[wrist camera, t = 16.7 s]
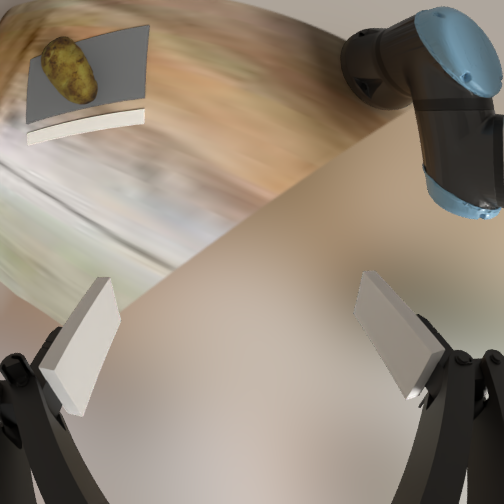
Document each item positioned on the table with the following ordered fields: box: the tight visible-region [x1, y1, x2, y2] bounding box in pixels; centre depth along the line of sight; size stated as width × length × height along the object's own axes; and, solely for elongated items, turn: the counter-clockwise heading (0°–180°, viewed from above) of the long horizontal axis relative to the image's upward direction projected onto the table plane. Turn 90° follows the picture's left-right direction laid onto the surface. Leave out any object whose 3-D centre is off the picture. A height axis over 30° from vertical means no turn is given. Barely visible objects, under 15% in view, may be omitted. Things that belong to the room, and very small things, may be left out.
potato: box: [41, 37, 98, 105], centre depth 28 cm, size 8×13×8 cm, turn 11°
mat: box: [26, 25, 150, 124], centre depth 32 cm, size 24×13×1 cm, turn 89°
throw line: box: [27, 109, 145, 146], centre depth 36 cm, size 24×2×1 cm, turn 89°
